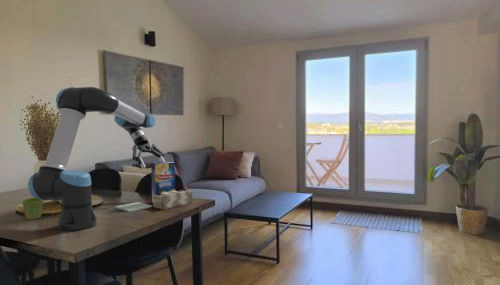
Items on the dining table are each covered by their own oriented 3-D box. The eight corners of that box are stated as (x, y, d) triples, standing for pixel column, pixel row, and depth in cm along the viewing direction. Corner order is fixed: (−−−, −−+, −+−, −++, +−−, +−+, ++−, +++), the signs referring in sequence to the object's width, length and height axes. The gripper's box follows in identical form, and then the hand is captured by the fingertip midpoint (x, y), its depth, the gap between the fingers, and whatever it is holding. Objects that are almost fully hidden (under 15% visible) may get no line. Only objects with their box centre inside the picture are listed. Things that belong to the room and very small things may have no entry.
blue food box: (175, 202, 199) (174, 162, 198) (155, 204, 193) (155, 163, 192) (171, 199, 205) (170, 161, 203) (152, 202, 199) (151, 162, 198)
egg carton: (163, 209, 182) (163, 195, 181) (153, 206, 188) (152, 193, 188) (191, 203, 195) (191, 190, 195) (181, 201, 201) (180, 188, 201)
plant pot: (40, 220, 163) (39, 201, 163) (17, 221, 162) (17, 202, 161) (48, 215, 173) (47, 197, 172) (27, 216, 171) (26, 197, 171)
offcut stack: (164, 205, 186) (164, 194, 186) (159, 204, 190) (158, 193, 189) (183, 201, 195) (183, 191, 195) (177, 200, 198) (177, 190, 198)
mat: (128, 211, 177) (128, 210, 177) (116, 207, 186) (115, 206, 186) (151, 207, 187) (151, 205, 187) (138, 203, 196) (138, 202, 196)
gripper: (155, 143, 224) (170, 168, 215) (118, 145, 206) (132, 173, 197) (160, 134, 221) (175, 160, 212) (122, 136, 202) (137, 164, 193)
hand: (154, 166), depth 204 cm, fingers open, 13 cm apart
